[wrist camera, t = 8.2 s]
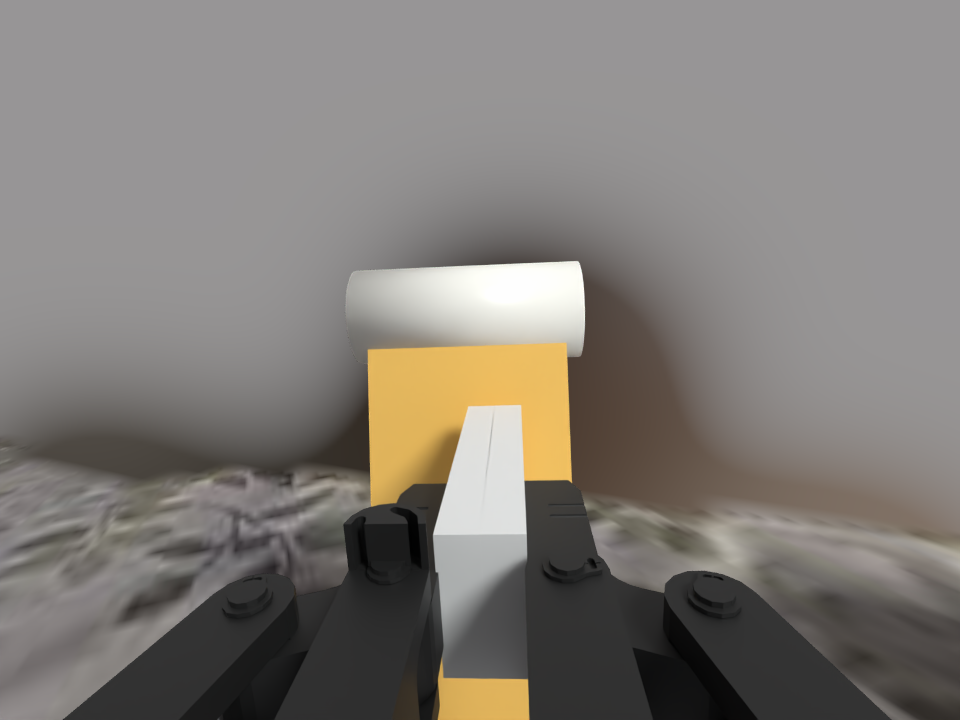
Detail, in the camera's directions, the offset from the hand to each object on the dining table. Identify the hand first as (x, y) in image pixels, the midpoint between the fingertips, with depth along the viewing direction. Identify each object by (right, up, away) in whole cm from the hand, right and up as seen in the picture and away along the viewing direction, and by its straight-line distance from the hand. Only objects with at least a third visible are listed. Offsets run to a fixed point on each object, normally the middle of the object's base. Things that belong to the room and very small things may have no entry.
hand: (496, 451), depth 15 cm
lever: (0, -10, +1) cm, 10 cm away
